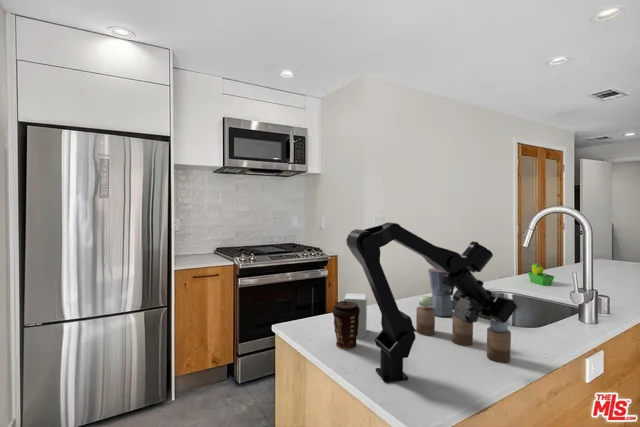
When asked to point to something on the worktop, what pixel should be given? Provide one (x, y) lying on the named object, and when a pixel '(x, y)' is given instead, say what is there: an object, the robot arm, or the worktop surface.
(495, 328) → the slate-blue button
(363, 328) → the supplement box
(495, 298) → the robot arm
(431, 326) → the button stands
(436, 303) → the moka pot
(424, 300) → the sage button
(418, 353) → the worktop surface
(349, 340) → the coffee cup
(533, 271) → the fruit basket
